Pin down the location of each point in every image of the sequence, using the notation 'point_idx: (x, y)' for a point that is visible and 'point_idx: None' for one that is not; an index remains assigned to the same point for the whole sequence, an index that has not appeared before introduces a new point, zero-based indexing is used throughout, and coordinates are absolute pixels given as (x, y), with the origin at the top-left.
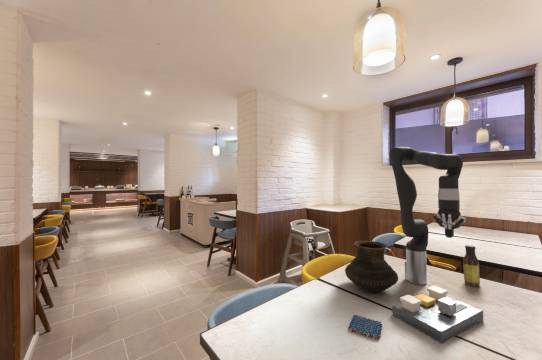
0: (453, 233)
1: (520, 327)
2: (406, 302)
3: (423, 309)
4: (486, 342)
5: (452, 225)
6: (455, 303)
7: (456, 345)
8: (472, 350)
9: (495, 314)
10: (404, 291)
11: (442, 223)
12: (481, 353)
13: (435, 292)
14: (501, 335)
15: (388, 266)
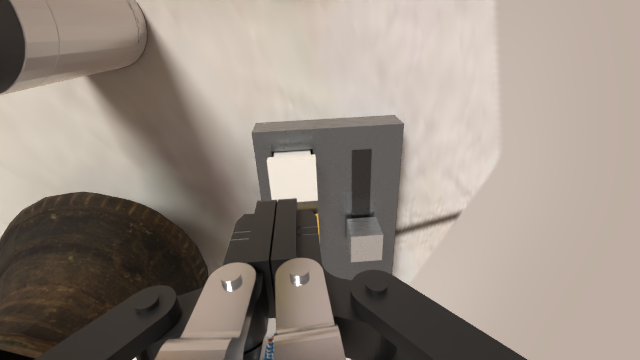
0: (317, 236)
1: (462, 54)
2: None
3: (321, 260)
4: (429, 203)
5: (304, 318)
6: (382, 236)
7: (400, 259)
8: (421, 248)
9: (400, 33)
10: (180, 160)
11: (119, 343)
12: (434, 243)
13: (301, 199)
14: (441, 147)
15: (141, 285)
